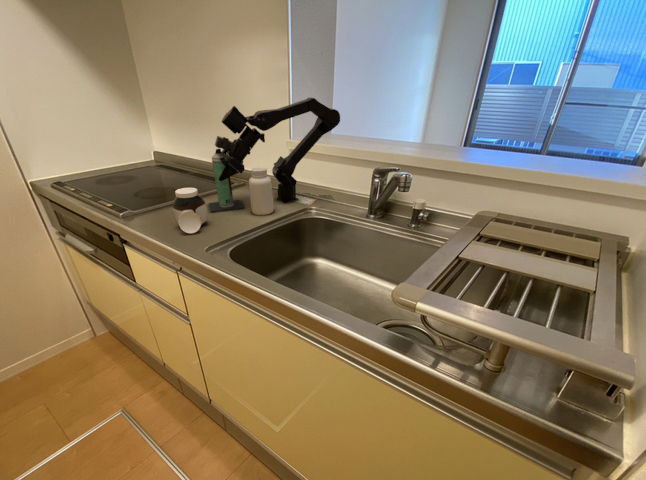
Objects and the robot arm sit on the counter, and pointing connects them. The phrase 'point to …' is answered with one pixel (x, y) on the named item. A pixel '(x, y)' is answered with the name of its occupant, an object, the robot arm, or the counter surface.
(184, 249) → the counter surface
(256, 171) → the pill bottle
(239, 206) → the mat
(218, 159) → the spray can
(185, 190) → the spread jar
